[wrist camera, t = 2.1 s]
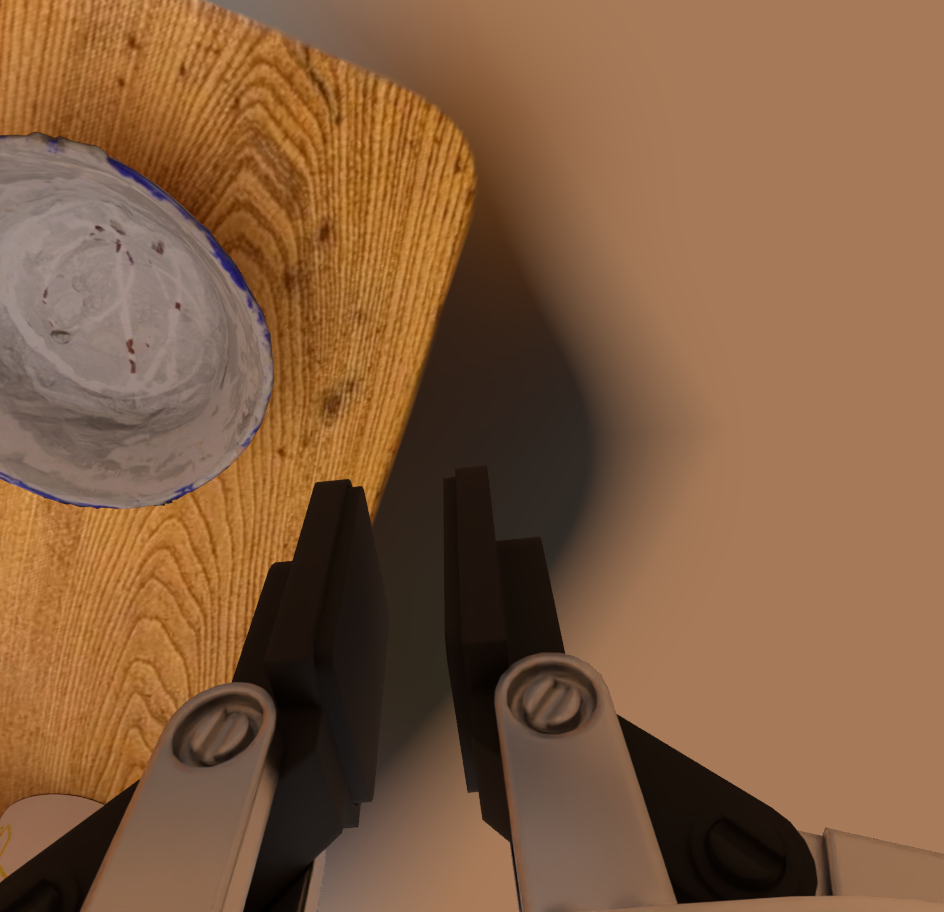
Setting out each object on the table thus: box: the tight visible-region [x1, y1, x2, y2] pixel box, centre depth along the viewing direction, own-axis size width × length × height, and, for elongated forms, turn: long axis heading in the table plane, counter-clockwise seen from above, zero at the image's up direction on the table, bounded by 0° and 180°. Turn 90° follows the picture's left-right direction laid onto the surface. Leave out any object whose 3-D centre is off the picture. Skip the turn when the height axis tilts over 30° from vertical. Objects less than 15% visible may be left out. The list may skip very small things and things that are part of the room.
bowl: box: [0, 132, 274, 509], centre depth 25 cm, size 13×13×5 cm
